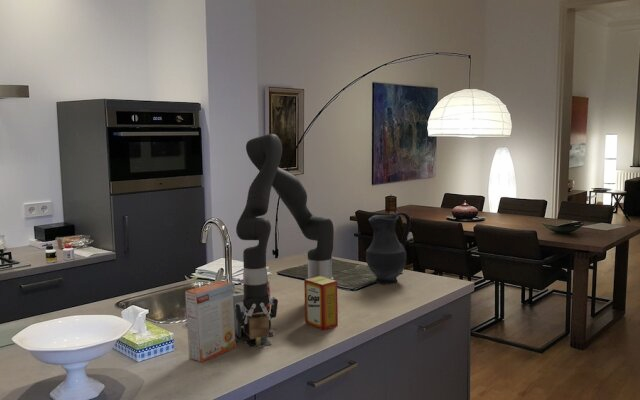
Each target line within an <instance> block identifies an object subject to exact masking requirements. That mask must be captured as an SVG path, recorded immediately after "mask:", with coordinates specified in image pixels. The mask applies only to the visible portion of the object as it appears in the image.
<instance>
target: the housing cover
mask: <svg viewBox="0 0 640 400" xmlns="http://www.w3.org/2000/svg"><path fill="white" fill-rule="evenodd" d="M243 299H244V292H238V293H233V307H234V303H240V302H243ZM245 310H246V307H245V306H244V305H243V306H242V309H241V316H242V318H243V316H244V313H245ZM257 313H259V312H257ZM234 327H235V336H236V337H237V338H242V327H243V323H239V322H238V321H237V319H236V313H235V308H234Z"/></svg>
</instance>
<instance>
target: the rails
mask: <svg viewBox="0 0 640 400" xmlns="http://www.w3.org/2000/svg"><path fill="white" fill-rule="evenodd" d="M273 336H274V331H272V330H271V329H270V330H269V337H273ZM237 342H239V341H238V336H237V335H235V343H237Z"/></svg>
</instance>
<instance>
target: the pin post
mask: <svg viewBox="0 0 640 400" xmlns="http://www.w3.org/2000/svg"><path fill="white" fill-rule="evenodd" d="M243 341H244V343H246V345H247V346H248V347H249V349H256V348H260V347H261V348H262V347H268V346H271V345H272V342H271V341H270V340H269V339H268V338H267V336H265V337H259V338H253V339H250V338H249V339H244V340H243Z"/></svg>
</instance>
